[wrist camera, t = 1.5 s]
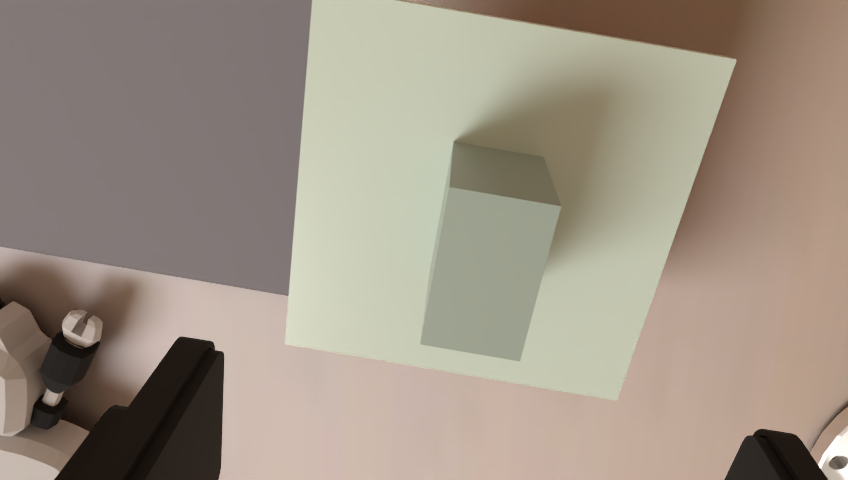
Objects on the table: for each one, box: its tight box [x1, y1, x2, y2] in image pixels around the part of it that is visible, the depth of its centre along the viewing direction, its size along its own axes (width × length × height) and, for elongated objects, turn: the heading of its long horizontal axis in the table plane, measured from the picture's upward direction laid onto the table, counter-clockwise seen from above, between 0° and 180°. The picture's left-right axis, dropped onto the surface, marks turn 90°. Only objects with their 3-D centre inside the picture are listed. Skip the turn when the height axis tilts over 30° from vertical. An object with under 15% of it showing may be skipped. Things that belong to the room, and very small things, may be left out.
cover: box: [285, 0, 737, 401], centre depth 20 cm, size 13×13×5 cm
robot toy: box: [0, 299, 103, 480], centre depth 32 cm, size 12×4×15 cm
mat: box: [0, 0, 312, 296], centre depth 27 cm, size 15×15×1 cm
